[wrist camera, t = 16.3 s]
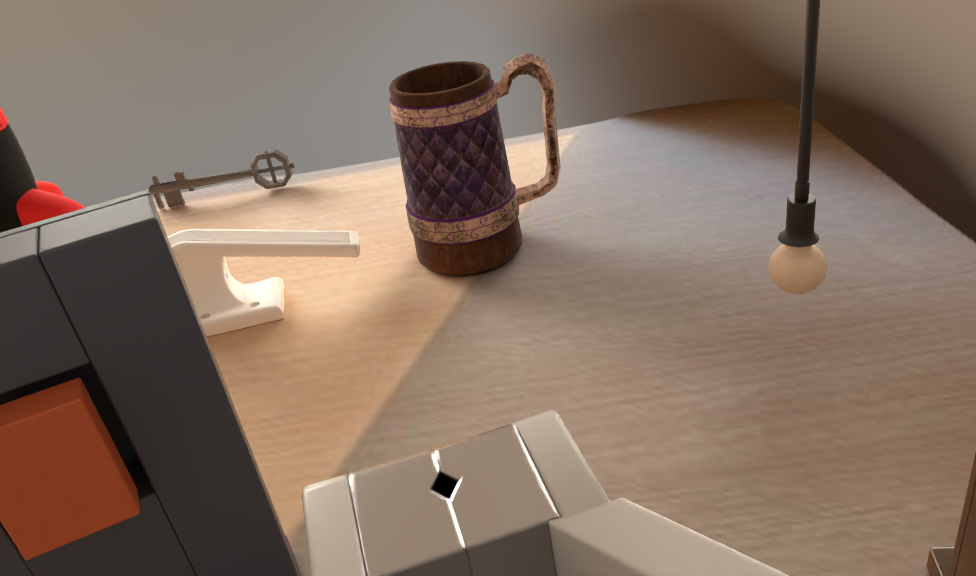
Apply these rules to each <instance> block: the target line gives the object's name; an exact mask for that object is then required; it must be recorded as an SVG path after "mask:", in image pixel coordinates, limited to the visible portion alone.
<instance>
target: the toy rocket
mask: <svg viewBox="0 0 976 576" xmlns="http://www.w3.org/2000/svg"><path fill="white" fill-rule="evenodd" d="M83 208H85V207H84V206H83V205H81V204H79V203H78V202H76V201H74V200H71V199H69V198H66V197H64V196H63V194H62V192H61V190H60V188H59V187H57V186H56V185H55V184H52V183H49V182H44V181H35V179H34V176H33V174H32V171H31V169H30V167H29V164H28V162H27V160H26V157H25V155H24V153H23V151H22V149H21V147H20V145H19V143H18V140H17V138H16V136H15V134H14V132H13V130H12V129H11V127H10V125H9V123H8V120H7V118H6V116H5V115H4V113H3V111H2V109H1V108H0V233H1V232H4V231H8V230H11V229H15V228H18V227H21V226H25V225H28V224H32V223H35V222H38V221H42V220H45V219H49V218H52V217H56V216H59V215H62V214H66V213H69V212H73V211H76V210H79V209H83Z"/></svg>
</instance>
